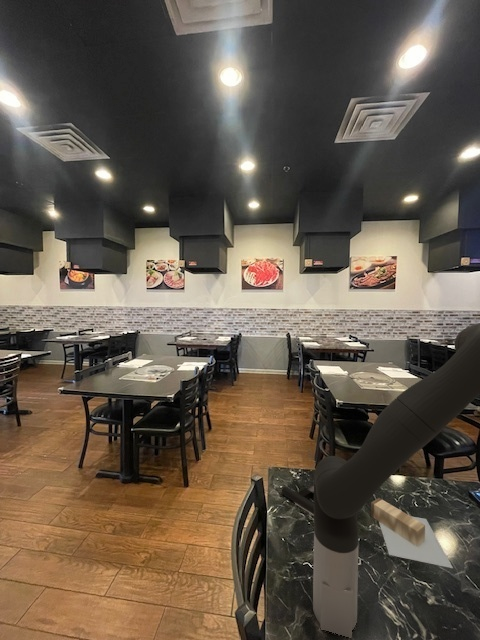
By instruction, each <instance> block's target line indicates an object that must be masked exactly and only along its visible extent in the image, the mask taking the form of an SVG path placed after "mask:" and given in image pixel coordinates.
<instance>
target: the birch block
mask: <svg viewBox="0 0 480 640" xmlns="http://www.w3.org/2000/svg"><path fill="white" fill-rule="evenodd" d="M370 517H372V518H373V519H375V520H376V521H378V523H379V522H380V523H382V524H383V525H385V526H386V527H388V528H389V529H391V530H392V531H394V532H395V533H397V534H398V535H400V536H401V537H403V538H404V539H406V540H407V541H409V542H410V543H412V544H413V545H415V546H416V547H417V546H419V545H420V544H421V543H422V542H423V541H424V540H425V525H424V524H423V523H421V522H419V521H418V520H416V519H414V518H412V517H413V516H412V517H411V516H410V515H409V514H407V513H406V512H404V511H402V510H401V509H399V508H397V507H396V506H394V505H392V504H391V503H388V502H387V501H385V500H384V499H382V498H380V497H378V498H376V499H375V500H373V501H372V502H370Z"/></svg>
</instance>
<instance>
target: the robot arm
mask: <svg viewBox="0 0 480 640" xmlns="http://www.w3.org/2000/svg"><path fill="white" fill-rule="evenodd" d="M454 349H455V353H454V354H453V355H452V356H451V357H450V358H449V359H448V360H447V361H446V362H445V363H444V364H443V365H442V366H441V367H439V368H438V369H437V370H435V371H434V372H431V374H429V375H427V376H425V377H424V378H422V379H420V380H419V381H417V382H415V383H414V384H413V385H411V386H409V387H408V388H407V389H404V391H402V392H401V393H400V394H399V395H397V397H396V398H394V399H393V400H392V401H391V402H390V403H389V404H388V405H387V406H386V407H385V408H384V409H383V410H382V411H381V412H380V413H379V414H378V416H377V417H376V419H375V420H374V422H373V424H372V425H371V427H370V430H369V431H368V433H367V435H366V437H365V439H364V440H363V443H362V445H361V446H360V448H359V449H358V450H357V451H356V452H355V454H353V456H351V458H349V459H348V460H346V459H344V458H343V457H340V456H337V455H329V456H325V457H324V458H322V459H320V460H319V462H318V463H317V465H316V466H315V469H314V472H313V473H314V474H313V486H314V500H313V503H314V516H313V521H314V524H313V525H314V526H313V530H314V531H313V575H312V576H313V579H312V584H313V585H312V590H313V591H312V592H313V593H312V594H313V595H312V609H313V613H314V616H315V618H316V620H317V621H318V624H319V626H320V627H319V629H320V628H321V629H320V630H321V631H322V630H326V631H329V632H332V633H331V634H333V633H334V634H333V635H336V634H338V635H337V636H340V635H342V636H341V637H343V636H345V637H344V638H346V637H352V638H353V632H352V630H353V629H354V627H355V625H356V623H358V589H359V588H358V587H359V586H358V582H359V580H358V578H359V576H358V575H359V570H358V569H359V524H358V517H357V514H358V512H360V511H361V510H362V509H363V508H364V507H365V506H366V504H367V503H368V502H369V501H370V500H371V499H372V497H373V496H374V495H375V494H376V492H378V490H379V489H380V488H381V487H382V486H383V484H385V482H387V480H388V479H390V478H391V476H393V474H395V473H396V472H397V471H398V470H399V469H400V468H401V467H402V466H403V465H405V463H407V462H408V461H409V460H410V459H411V458H412V457H413V456H414V455H416V453H418V452H419V451H420V450H421V449H423V448H424V447H425V446H427V444H429V443H430V442H431V441H433V439H434V438H436V436H438V434H439V433H440V432H442V431H443V430H444V429H445V428H446V427H447V426H448V425H449V424H450V423H451V422H452V421H453V420H454V419H455V418H457V416H459V415H460V414H461V412H464V410H465V408H467V407H468V406H469V405H470V403H472V402H473V401H474V400H475V399H476V398H477V397H479V395H480V323H476V324H473V325H470V326H468V327H466V328H464V329H462V330H461V331H460V332H459V333H458V334H457V335H456V337H455V339H454ZM356 626H357V625H356ZM355 628H356V627H355ZM354 630H355V629H354ZM326 631H325V632H326ZM329 632H328V633H329ZM335 633H336V634H335Z"/></svg>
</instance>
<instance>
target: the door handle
mask: <svg viewBox="0 0 480 640" xmlns="http://www.w3.org/2000/svg"><path fill="white" fill-rule="evenodd" d="M281 494H282V495H283V496H284V497H285V498H287V499H289V500H290V501H291V502H293V503H295V504H294V505H295V506H298V507H299V508H301V509H302V510H303V511H305V512H307V513H308V514H309V515H312V517H314V485H313V486H312V487H310V488H308V489H307V488H305V487H304V488H302V489H301V490H300V491H295V490H293V489H292V488H289V487H287V486H283V487H282V489H281ZM311 500H313V502H312V501H311Z"/></svg>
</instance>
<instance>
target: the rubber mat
mask: <svg viewBox="0 0 480 640" xmlns="http://www.w3.org/2000/svg"><path fill="white" fill-rule="evenodd" d="M411 517H412V518H414V519H416V520H418V521H419V522H421V523H423V524H424V525H425V540H424V541H423V542H422V543H421V544H420V545H419V546H417V547H416V546H415V545H413V544H412V543H410V542H409V541H407V540H406V539H404V538H403V537H401V536H400V535H398V534H397V533H395V532H394V531H392V530H391V529H389V528H388V527H386V526H385V525H383V524H382V523H380V522H379V521H378V523H379V527H380V530H381V533H382V537H383V539H384V540H383V541H384V542H385V545H386V549H387V552H388V555H389V556H392V557H396V558H397V557H398V558H403V559H406V560H407V559H408V560H412V561H415V562H421V563H425V564H430V565H435V566H440V567H444V568H450V569H454V567H453V565H452V564H451V562H450V560H449V558H448V557H447V554H446V552H445V551H444V549H443V547H442V546H441V544H440V542H439V540H438V538H437V536H436V534H435V533H434V531H433V529H432V527H431V525H430V524H429V522H428V520H427V518H423V517H422V518H421V517H417V516H411Z"/></svg>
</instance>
